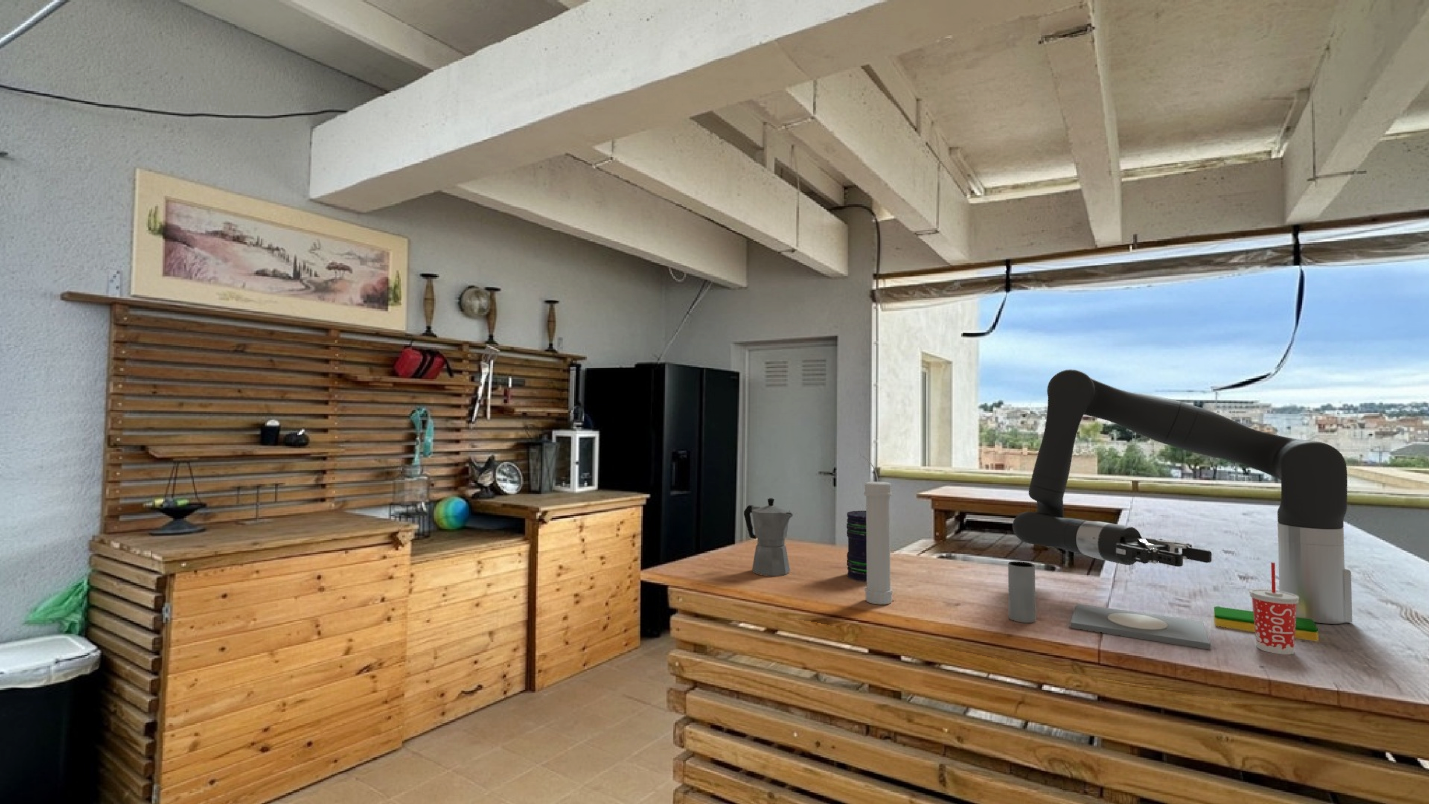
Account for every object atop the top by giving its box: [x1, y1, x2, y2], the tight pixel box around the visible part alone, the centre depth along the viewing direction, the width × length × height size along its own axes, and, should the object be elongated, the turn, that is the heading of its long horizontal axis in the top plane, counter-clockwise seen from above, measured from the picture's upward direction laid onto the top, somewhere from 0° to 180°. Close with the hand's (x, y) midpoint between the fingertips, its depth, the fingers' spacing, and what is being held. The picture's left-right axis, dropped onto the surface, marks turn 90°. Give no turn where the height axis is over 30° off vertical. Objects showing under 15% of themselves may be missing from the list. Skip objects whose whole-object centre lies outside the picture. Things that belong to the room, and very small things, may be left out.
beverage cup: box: [1248, 562, 1299, 656], centre depth 106 cm, size 6×6×14 cm
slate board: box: [1069, 603, 1212, 651], centre depth 117 cm, size 20×14×1 cm
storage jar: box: [846, 510, 867, 583], centre depth 154 cm, size 10×10×15 cm
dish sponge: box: [1213, 606, 1319, 642], centre depth 116 cm, size 7×14×2 cm, turn 53°
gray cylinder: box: [1007, 560, 1037, 624], centre depth 121 cm, size 4×4×10 cm
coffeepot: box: [743, 497, 794, 577], centre depth 160 cm, size 15×9×18 cm, turn 44°
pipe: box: [860, 454, 893, 606], centre depth 133 cm, size 6×6×30 cm
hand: (1196, 559), depth 116 cm, fingers open, 8 cm apart
